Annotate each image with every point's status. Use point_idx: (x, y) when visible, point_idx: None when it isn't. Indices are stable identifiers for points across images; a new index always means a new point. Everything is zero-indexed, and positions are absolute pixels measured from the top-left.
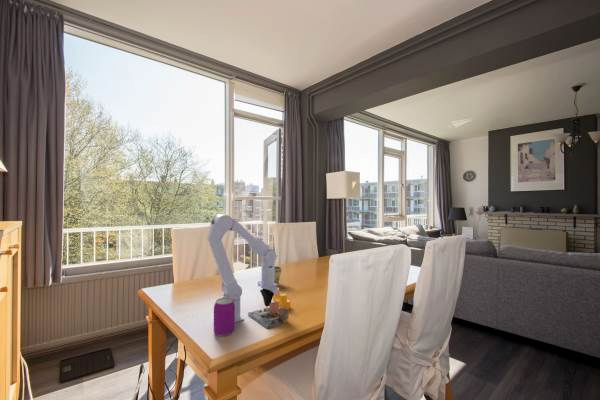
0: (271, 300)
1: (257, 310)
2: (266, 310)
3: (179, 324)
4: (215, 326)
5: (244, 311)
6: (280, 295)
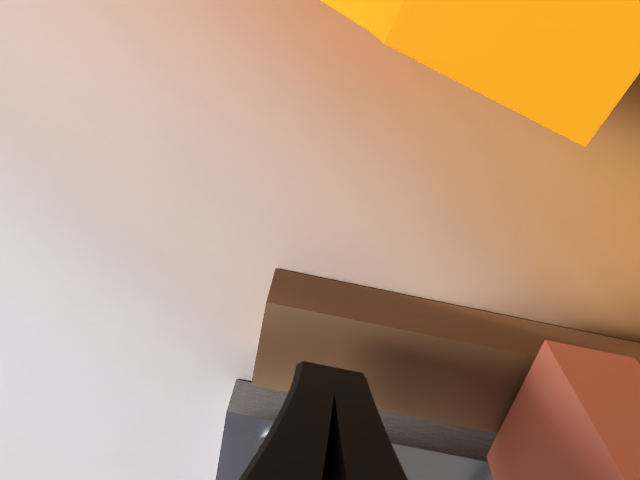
0: (399, 470)
1: (231, 460)
2: None
3: None
4: None
5: (63, 474)
6: (434, 69)
